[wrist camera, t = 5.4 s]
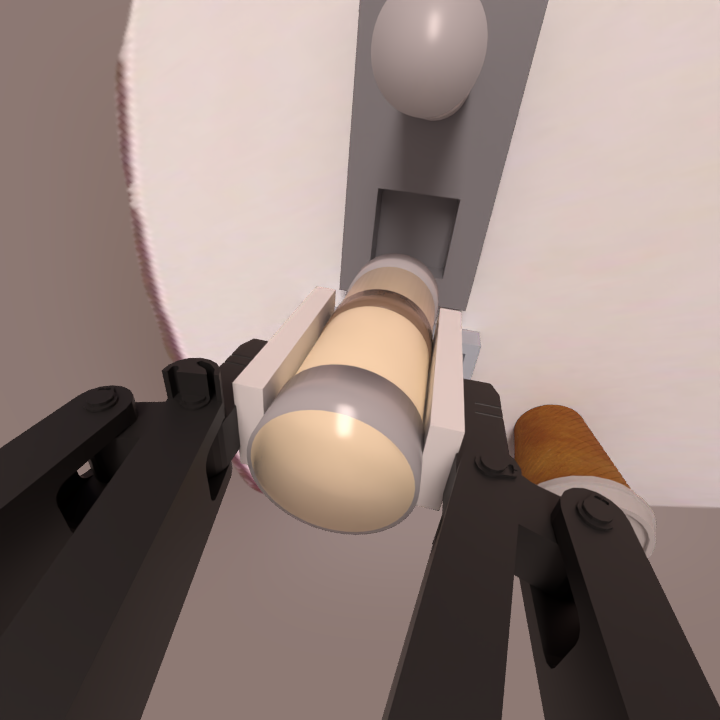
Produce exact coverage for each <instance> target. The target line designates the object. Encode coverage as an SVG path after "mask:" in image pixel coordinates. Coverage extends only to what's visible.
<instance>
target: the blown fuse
mask: <svg viewBox="0 0 720 720" xmlns="http://www.w3.org/2000/svg"><path fill="white" fill-rule="evenodd" d="M438 300H439V291H438V286H437V282H436V280H435V278H434V276H433V274H432V273H431V271H430V270H429V269H428V268H427V267H426V266H425V265H424V264H423V263H422V262H420V261H419V260H417V259H415V258H414V257H411V256H408V255H405V254H398V253H390V254H384V255H381V256H378V257H376V258H374V259H372V260H370V261H369V262H368V263H366V264H365V265H364V266H363V267H362V269H361V270H360V271H359V273H358V274H357V276H356V277H355V279H354V280H353V282H352V283H351V285H350V287H349V289H348V291H347V294H346V297H345V299H344V300H343V302H341V304H340V305H339V306H338V307H337V308H336V310H335V311H334V313H333V314H332V316H331V318H330V319H329V321H328V322H327V324H326V325H325V327H324V328H323V330H322V332H321V334H320V337H319V339H318V340H317V342H316V343H315V345H314V346H313V348H312V350H311V351H310V353H309V354H308V356H307V357H306V359H305V360H304V362H303V363H302V365H301V366H300V368H299V370H298V371H297V373H296V374H295V376H293V377H292V378H291V379H289V380H288V381H287V382H286V383H285V385H284V386H283V387H282V388H281V390H280V392H279V393H278V395H277V396H276V398H275V399H274V401H273V402H272V404H271V405H270V407H269V408H268V410H267V411H266V413H265V414H264V416H263V417H262V419H261V420H260V422H259V423H258V425H257V426H256V428H255V429H254V431H253V432H252V434H251V436H250V438H249V441H248V445H247V462H248V466H249V469H250V472H251V475H252V477H253V479H254V481H255V482H256V484H257V485H258V487H259V488H260V490H261V491H262V492H263V493H264V494H265V496H266V497H267V498H268V499H269V500H270V501H271V502H272V503H274V504H275V505H276V506H277V507H278V508H280V509H281V510H282V511H284V512H285V513H287V514H288V515H290V516H292V517H294V518H295V519H297V520H299V521H301V522H303V523H305V524H308V525H310V526H313V527H315V528H319V529H322V530H325V531H330V532H334V533H341V534H353V535H359V534H371V533H376V532H380V531H384V530H386V529H389V528H392V527H394V526H395V525H397V524H399V523H400V522H402V521H403V520H404V519H406V518H407V517H408V515H409V514H410V513H411V512H412V510H413V509H414V507H415V506H416V503H417V501H418V498H419V492H420V482H421V472H422V462H423V446H424V436H425V431H424V425H423V414H424V405H425V396H426V387H427V378H428V373H429V370H430V365H431V356H432V346H433V326H434V324H435V321H436V318H437V310H438Z"/></svg>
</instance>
